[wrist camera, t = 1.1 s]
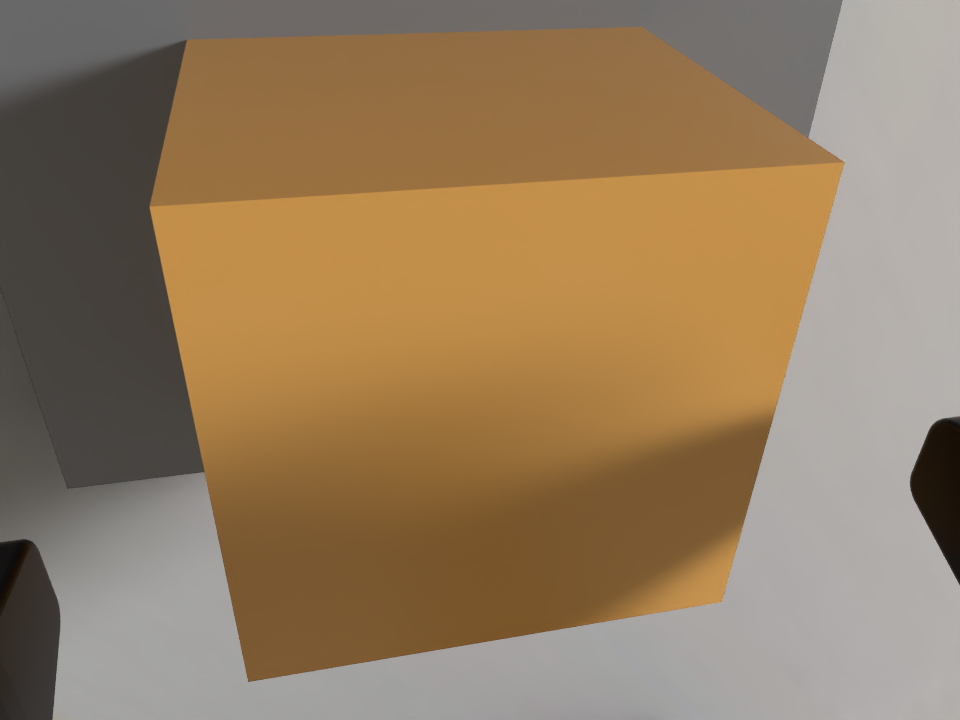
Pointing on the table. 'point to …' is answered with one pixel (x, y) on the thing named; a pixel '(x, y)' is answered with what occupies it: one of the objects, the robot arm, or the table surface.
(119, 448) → the plate
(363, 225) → the cardboard cube
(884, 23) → the table surface
